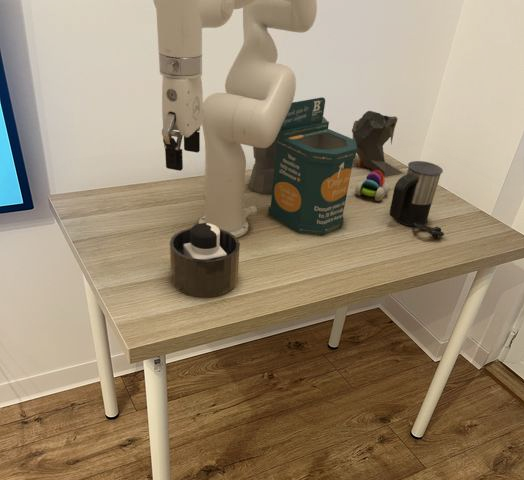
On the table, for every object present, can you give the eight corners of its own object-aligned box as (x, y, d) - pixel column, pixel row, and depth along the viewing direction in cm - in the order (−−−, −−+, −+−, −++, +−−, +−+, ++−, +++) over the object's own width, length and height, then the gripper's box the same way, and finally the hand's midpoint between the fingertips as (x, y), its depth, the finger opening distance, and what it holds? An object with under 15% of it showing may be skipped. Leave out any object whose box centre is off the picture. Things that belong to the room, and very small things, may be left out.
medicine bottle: (195, 289, 112) (195, 238, 104) (183, 272, 116) (182, 222, 109) (226, 282, 115) (228, 232, 107) (213, 266, 119) (214, 217, 112)
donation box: (310, 201, 151) (325, 96, 133) (352, 224, 142) (374, 114, 124) (267, 215, 142) (278, 104, 124) (310, 240, 133) (328, 125, 115)
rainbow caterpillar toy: (390, 194, 159) (396, 171, 154) (377, 205, 152) (383, 180, 148) (364, 186, 162) (369, 163, 157) (351, 196, 156) (356, 172, 151)
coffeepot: (238, 182, 157) (241, 119, 146) (263, 176, 162) (268, 114, 150) (270, 202, 148) (276, 136, 137) (295, 195, 153) (303, 131, 141)
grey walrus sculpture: (371, 156, 183) (382, 101, 171) (402, 172, 173) (416, 115, 162) (339, 162, 176) (349, 104, 165) (369, 179, 167) (382, 120, 155)
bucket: (209, 256, 124) (209, 220, 118) (251, 283, 116) (253, 247, 110) (158, 276, 116) (156, 239, 110) (199, 306, 108) (199, 268, 102)
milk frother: (402, 208, 152) (415, 157, 142) (454, 226, 146) (472, 174, 136) (380, 225, 143) (393, 172, 133) (436, 245, 136) (454, 191, 127)
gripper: (183, 79, 87) (186, 180, 98) (216, 56, 100) (215, 147, 111) (140, 73, 88) (148, 173, 99) (178, 51, 101) (181, 142, 112)
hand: (183, 159), depth 105 cm, fingers open, 9 cm apart
